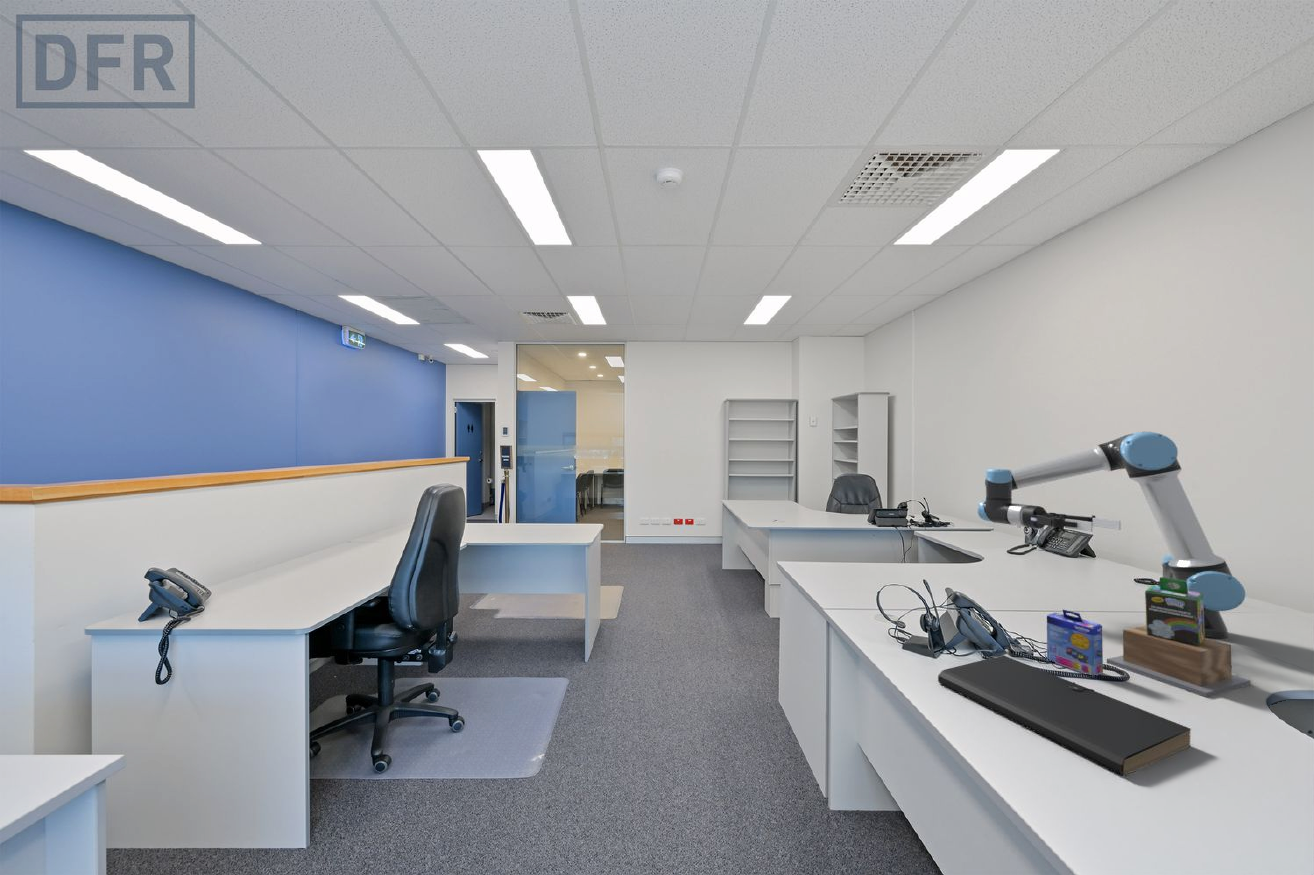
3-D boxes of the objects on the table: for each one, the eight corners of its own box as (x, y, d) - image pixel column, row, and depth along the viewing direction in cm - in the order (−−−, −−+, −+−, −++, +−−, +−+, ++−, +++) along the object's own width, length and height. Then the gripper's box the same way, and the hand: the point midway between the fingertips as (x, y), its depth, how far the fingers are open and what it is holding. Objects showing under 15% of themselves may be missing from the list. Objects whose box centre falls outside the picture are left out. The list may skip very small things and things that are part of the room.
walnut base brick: (1154, 653, 126) (1153, 624, 126) (1231, 677, 112) (1231, 644, 113) (1123, 660, 121) (1123, 629, 121) (1200, 686, 108) (1199, 651, 108)
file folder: (1191, 726, 87) (1120, 757, 78) (1192, 748, 87) (1121, 782, 78) (1004, 653, 117) (937, 669, 109) (1004, 670, 117) (938, 687, 108)
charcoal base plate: (1150, 653, 128) (1150, 649, 129) (1250, 684, 112) (1250, 680, 112) (1106, 662, 122) (1106, 658, 122) (1206, 697, 105) (1205, 692, 105)
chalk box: (1205, 639, 116) (1204, 580, 116) (1200, 647, 111) (1199, 585, 111) (1151, 627, 123) (1151, 571, 124) (1144, 634, 118) (1144, 576, 119)
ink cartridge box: (1045, 661, 122) (1045, 605, 122) (1055, 657, 125) (1055, 603, 125) (1093, 677, 113) (1093, 618, 114) (1103, 673, 116) (1103, 615, 116)
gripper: (1051, 525, 161) (1131, 536, 141) (1002, 528, 153) (1079, 540, 133) (1051, 504, 161) (1130, 512, 141) (1002, 505, 153) (1079, 514, 133)
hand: (1106, 526), depth 137 cm, fingers open, 13 cm apart
